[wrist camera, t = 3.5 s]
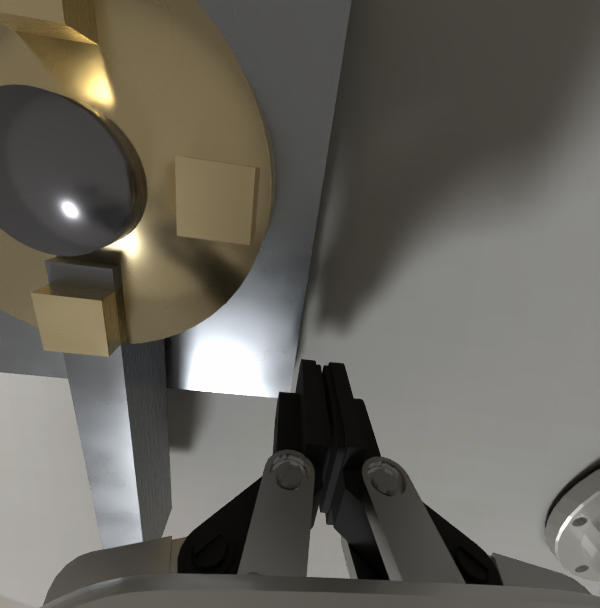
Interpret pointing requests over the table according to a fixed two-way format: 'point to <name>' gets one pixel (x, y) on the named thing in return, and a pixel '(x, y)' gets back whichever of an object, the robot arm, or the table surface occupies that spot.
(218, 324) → the base plate
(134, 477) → the gold disc with handle
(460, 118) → the table surface
